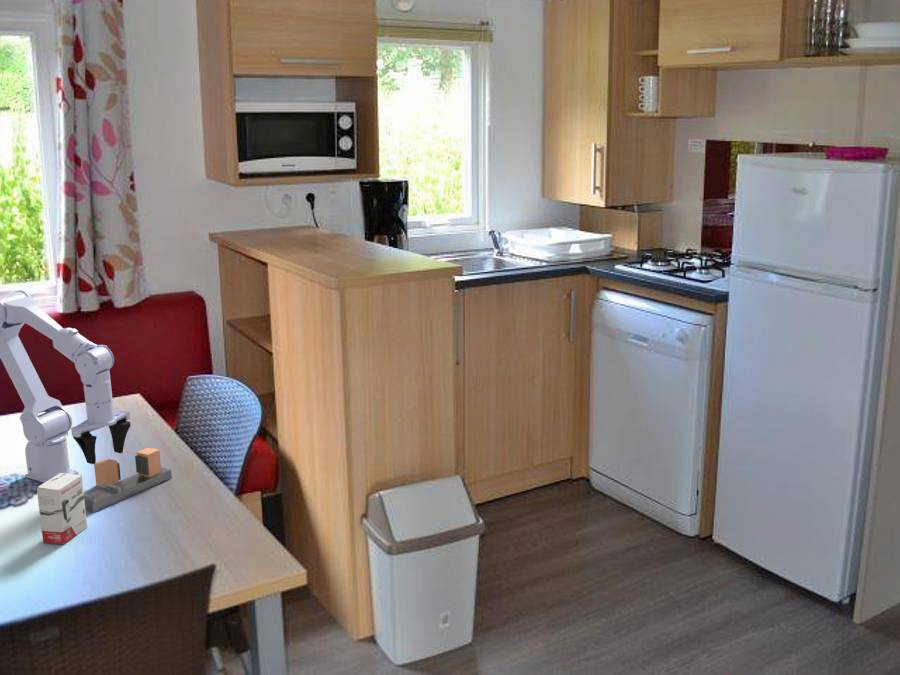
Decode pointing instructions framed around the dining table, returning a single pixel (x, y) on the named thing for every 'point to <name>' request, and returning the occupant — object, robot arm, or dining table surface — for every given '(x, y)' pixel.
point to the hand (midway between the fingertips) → (105, 457)
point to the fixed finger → (148, 462)
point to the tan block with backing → (107, 472)
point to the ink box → (62, 508)
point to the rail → (123, 490)
